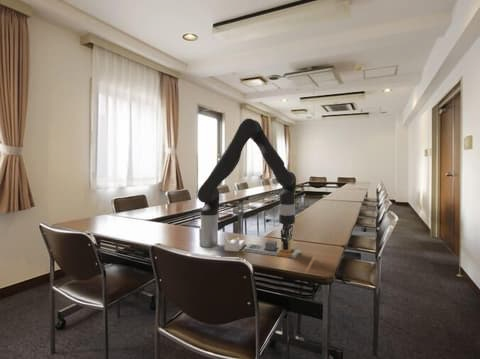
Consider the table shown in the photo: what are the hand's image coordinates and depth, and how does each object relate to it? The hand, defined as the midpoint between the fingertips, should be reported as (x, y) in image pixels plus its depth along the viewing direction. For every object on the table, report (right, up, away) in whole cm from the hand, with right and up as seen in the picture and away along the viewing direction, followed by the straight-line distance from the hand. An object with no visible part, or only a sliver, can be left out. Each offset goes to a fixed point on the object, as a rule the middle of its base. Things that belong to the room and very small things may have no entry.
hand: (286, 248), depth 132 cm
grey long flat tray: (-7, -4, +3) cm, 9 cm away
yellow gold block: (0, -2, 0) cm, 2 cm away
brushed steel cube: (-7, -3, +3) cm, 8 cm away
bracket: (-25, -4, +12) cm, 28 cm away
